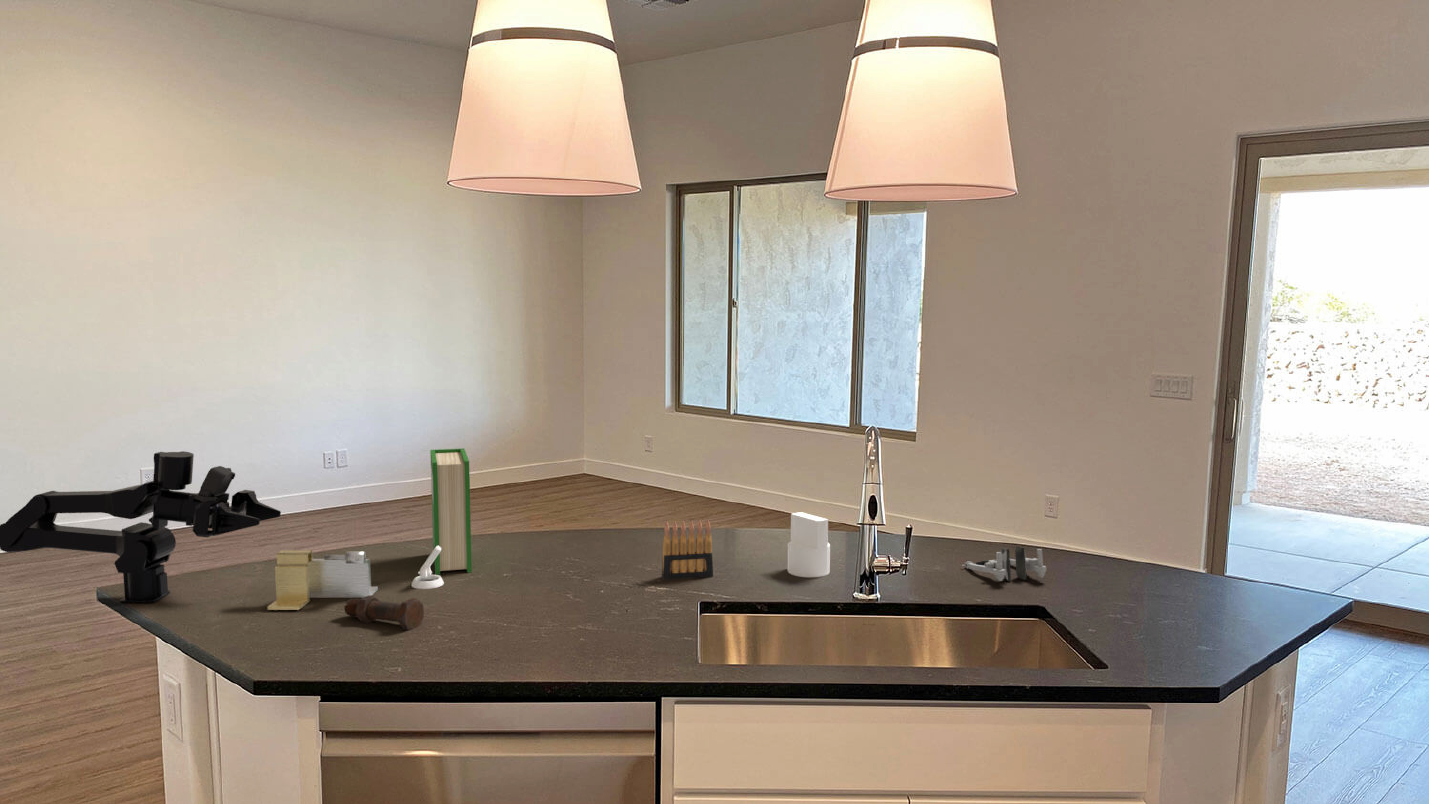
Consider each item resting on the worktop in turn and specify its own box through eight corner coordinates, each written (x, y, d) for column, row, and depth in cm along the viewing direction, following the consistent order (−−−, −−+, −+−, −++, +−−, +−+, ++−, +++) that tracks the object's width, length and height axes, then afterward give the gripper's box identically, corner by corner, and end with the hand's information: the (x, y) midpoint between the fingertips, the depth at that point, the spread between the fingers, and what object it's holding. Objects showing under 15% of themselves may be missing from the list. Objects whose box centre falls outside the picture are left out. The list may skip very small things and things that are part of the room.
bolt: (353, 625, 181) (418, 634, 176) (335, 619, 177) (401, 627, 171) (363, 594, 184) (428, 601, 178) (345, 587, 179) (410, 595, 173)
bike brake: (1054, 580, 203) (1005, 568, 222) (1052, 547, 203) (1003, 538, 223) (994, 585, 200) (950, 573, 219) (992, 552, 200) (948, 542, 220)
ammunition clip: (663, 579, 205) (663, 523, 203) (661, 577, 207) (661, 521, 205) (713, 576, 207) (713, 520, 206) (711, 574, 209) (711, 518, 208)
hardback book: (471, 572, 209) (469, 461, 207) (435, 575, 207) (432, 462, 204) (466, 551, 226) (464, 448, 223) (433, 553, 224) (430, 449, 221)
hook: (457, 568, 197) (432, 554, 195) (431, 605, 199) (406, 591, 197) (462, 554, 203) (437, 540, 201) (436, 589, 205) (412, 576, 203)
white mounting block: (300, 602, 188) (298, 553, 187) (317, 589, 197) (315, 541, 196) (363, 602, 188) (361, 553, 187) (377, 589, 197) (376, 541, 196)
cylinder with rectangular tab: (778, 569, 212) (779, 515, 211) (809, 563, 218) (810, 510, 216) (807, 579, 205) (807, 523, 204) (838, 572, 211) (839, 517, 209)
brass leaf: (267, 609, 183) (265, 560, 182) (283, 597, 190) (281, 550, 189) (299, 609, 183) (296, 560, 182) (313, 597, 190) (311, 550, 189)
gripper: (166, 472, 179) (252, 482, 179) (216, 460, 197) (294, 470, 197) (160, 532, 179) (245, 543, 179) (211, 515, 198) (288, 525, 198)
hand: (270, 517), depth 189 cm, fingers open, 9 cm apart
